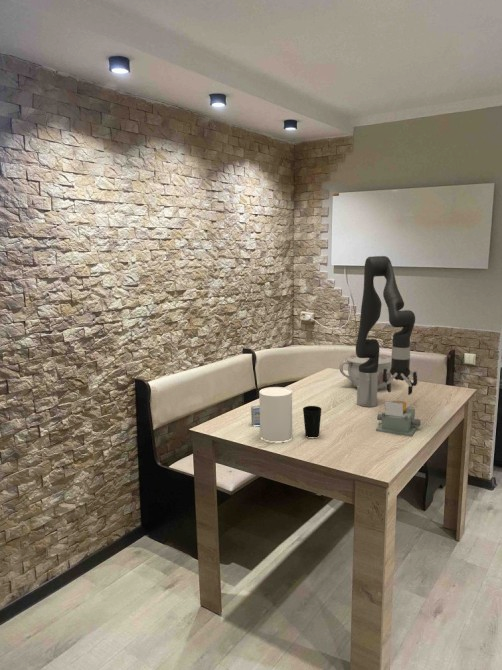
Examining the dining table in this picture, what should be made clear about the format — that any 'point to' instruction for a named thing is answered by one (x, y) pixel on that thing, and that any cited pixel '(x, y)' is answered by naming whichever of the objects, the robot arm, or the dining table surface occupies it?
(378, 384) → the chamber pot
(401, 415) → the bar
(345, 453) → the dining table surface
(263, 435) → the canister
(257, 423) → the medicine box
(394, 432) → the grey-green knobbed device
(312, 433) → the cup
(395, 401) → the orange domed cylinder
